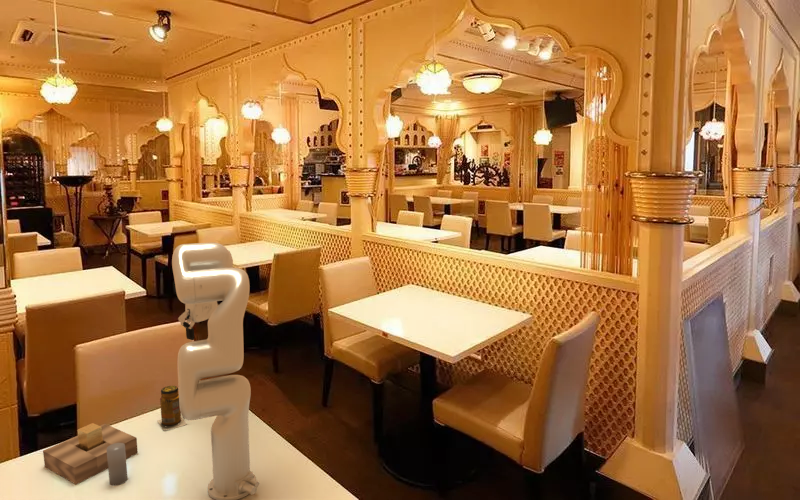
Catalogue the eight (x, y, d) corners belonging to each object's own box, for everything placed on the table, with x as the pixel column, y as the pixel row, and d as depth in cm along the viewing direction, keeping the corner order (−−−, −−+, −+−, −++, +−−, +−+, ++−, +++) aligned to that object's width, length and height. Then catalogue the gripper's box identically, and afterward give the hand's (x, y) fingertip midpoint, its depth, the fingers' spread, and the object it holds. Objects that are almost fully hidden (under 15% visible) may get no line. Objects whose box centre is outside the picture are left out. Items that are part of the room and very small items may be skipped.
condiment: (179, 414, 180) (177, 382, 178) (187, 424, 174) (185, 391, 172) (156, 421, 176) (154, 388, 174) (164, 431, 169) (161, 397, 167)
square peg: (104, 458, 154) (101, 426, 152) (89, 465, 150) (86, 433, 148) (95, 454, 156) (92, 423, 154) (80, 461, 152) (77, 429, 150)
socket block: (137, 452, 157) (136, 437, 156) (76, 484, 141) (74, 467, 140) (106, 438, 165) (105, 423, 164) (44, 466, 149) (42, 450, 148)
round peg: (131, 478, 144) (128, 445, 142) (115, 487, 140) (112, 453, 139) (121, 473, 146) (118, 441, 145) (106, 482, 143) (103, 448, 141)
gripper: (185, 293, 165) (188, 344, 168) (228, 282, 180) (230, 330, 183) (170, 290, 169) (173, 340, 172) (213, 279, 183) (215, 326, 186)
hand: (202, 335), depth 177 cm, fingers open, 9 cm apart
